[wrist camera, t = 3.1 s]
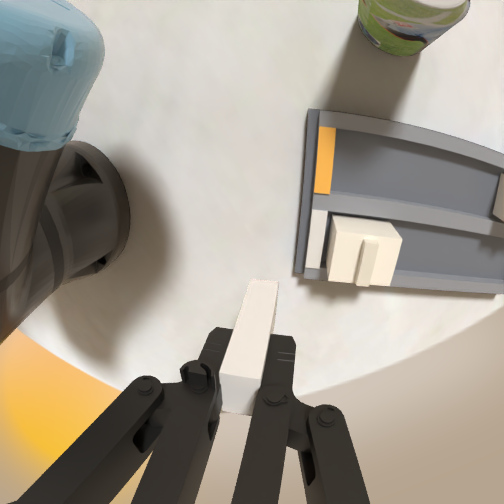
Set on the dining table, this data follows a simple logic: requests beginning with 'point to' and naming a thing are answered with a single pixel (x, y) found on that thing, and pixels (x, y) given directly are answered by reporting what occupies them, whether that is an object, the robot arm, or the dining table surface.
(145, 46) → the dining table surface
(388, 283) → the tab
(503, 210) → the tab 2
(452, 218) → the switch bank
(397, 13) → the beverage can
